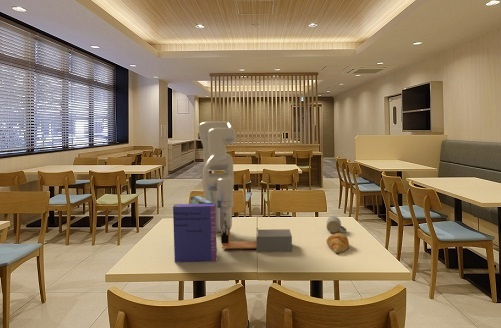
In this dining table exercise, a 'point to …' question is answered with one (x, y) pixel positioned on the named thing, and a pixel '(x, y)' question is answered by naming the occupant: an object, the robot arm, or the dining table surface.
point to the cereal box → (195, 232)
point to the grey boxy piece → (274, 240)
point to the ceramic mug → (335, 225)
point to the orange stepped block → (238, 243)
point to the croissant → (338, 242)
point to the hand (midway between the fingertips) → (225, 239)
